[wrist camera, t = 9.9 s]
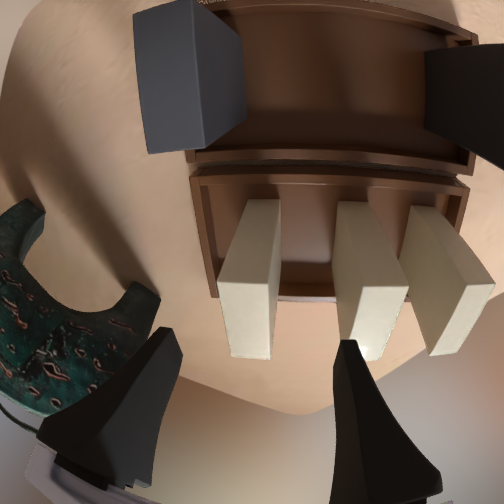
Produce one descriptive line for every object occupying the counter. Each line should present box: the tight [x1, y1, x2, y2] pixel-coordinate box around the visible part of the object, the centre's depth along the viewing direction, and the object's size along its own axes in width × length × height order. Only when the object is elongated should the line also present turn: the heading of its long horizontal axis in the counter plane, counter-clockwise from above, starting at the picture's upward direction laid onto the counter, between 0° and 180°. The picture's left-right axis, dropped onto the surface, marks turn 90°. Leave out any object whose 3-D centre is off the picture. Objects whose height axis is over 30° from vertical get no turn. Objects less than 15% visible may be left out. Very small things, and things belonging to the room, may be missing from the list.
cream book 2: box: [331, 201, 409, 361], centre depth 14 cm, size 2×5×8 cm, turn 4°
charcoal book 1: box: [133, 0, 248, 154], centre depth 10 cm, size 2×5×8 cm, turn 4°
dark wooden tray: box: [185, 0, 479, 176], centre depth 12 cm, size 17×9×2 cm, turn 94°
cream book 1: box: [217, 199, 281, 360], centre depth 15 cm, size 2×5×8 cm, turn 4°
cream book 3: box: [398, 205, 496, 356], centre depth 13 cm, size 2×5×8 cm, turn 4°
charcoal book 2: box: [424, 43, 504, 171], centre depth 8 cm, size 2×5×8 cm, turn 4°
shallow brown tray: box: [189, 165, 470, 303], centre depth 17 cm, size 17×9×2 cm, turn 94°
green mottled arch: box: [0, 198, 161, 435], centre depth 14 cm, size 20×6×20 cm, turn 55°
